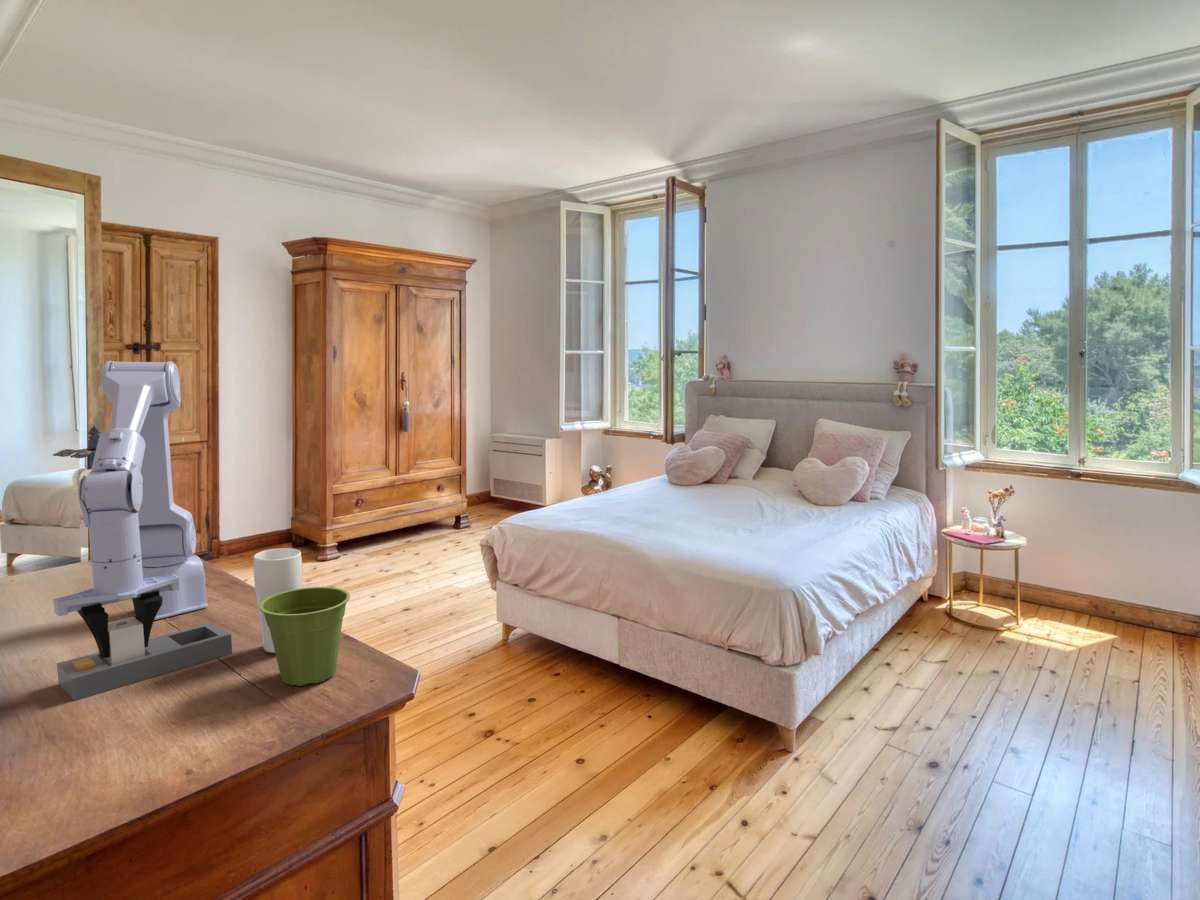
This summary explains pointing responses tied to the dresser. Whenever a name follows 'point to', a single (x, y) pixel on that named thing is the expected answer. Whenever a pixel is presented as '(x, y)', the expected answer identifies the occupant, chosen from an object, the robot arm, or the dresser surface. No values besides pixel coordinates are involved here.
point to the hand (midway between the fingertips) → (124, 650)
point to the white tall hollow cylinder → (275, 580)
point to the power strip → (144, 661)
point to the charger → (125, 640)
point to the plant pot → (306, 631)
